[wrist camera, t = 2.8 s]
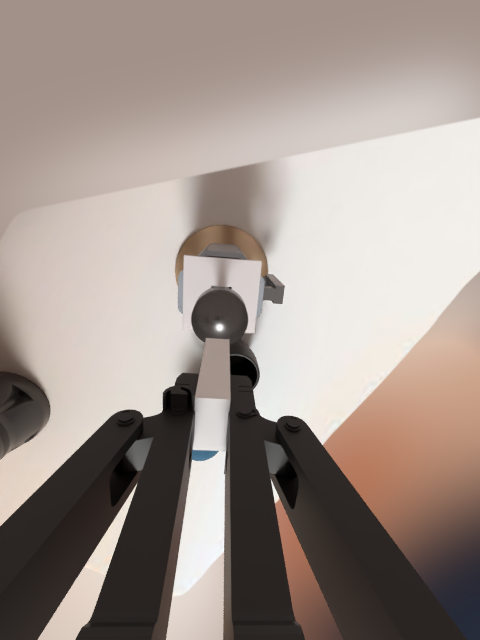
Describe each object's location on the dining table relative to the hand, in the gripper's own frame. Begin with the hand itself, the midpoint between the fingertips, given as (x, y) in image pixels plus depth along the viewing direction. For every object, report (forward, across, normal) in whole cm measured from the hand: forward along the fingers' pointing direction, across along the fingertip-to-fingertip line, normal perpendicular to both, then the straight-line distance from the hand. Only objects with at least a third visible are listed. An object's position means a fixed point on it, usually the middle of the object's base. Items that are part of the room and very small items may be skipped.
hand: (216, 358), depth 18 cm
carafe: (+32, +1, 0) cm, 32 cm away
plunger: (+19, 0, 0) cm, 19 cm away
